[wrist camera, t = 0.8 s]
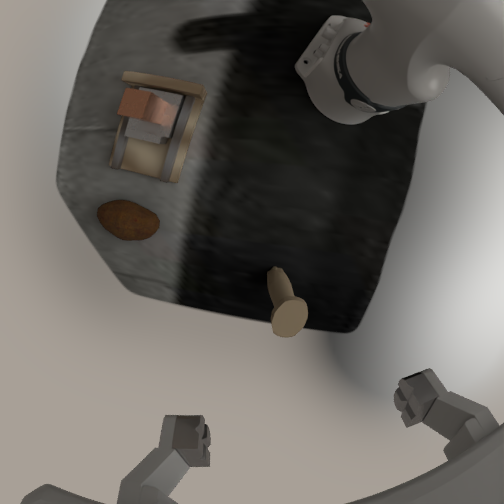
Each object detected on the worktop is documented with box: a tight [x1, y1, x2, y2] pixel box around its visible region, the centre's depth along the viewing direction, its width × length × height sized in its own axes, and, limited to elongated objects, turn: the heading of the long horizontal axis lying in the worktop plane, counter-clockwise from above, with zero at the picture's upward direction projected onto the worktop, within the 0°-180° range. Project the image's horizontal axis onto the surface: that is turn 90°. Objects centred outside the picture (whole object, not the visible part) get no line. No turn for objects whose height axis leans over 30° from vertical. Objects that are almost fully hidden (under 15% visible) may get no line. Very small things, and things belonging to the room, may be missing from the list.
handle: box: [267, 267, 308, 337], centre depth 44 cm, size 5×6×15 cm
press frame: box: [109, 71, 207, 183], centre depth 38 cm, size 16×13×6 cm
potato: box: [97, 200, 160, 240], centre depth 42 cm, size 7×12×7 cm, turn 78°
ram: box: [117, 87, 186, 144], centre depth 33 cm, size 8×7×12 cm
